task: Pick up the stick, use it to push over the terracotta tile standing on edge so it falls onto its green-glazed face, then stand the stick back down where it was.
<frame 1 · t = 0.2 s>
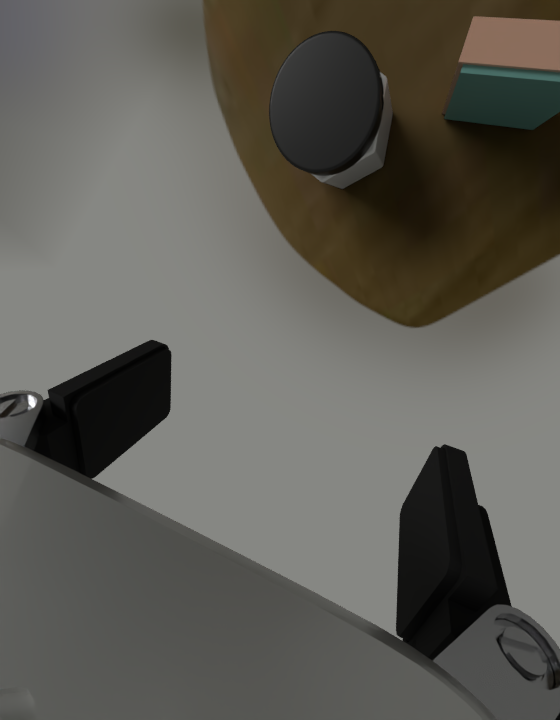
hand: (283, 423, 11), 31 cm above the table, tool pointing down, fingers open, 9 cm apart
tile: (493, 105, 28), on the table
jar: (349, 140, 33), on the table
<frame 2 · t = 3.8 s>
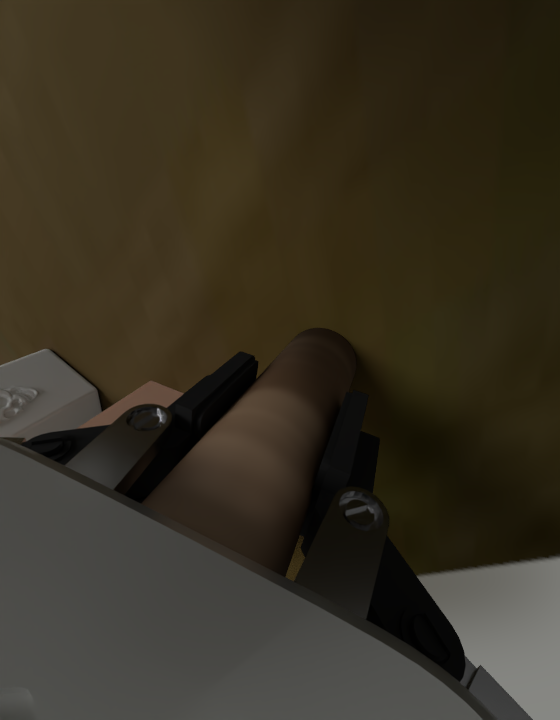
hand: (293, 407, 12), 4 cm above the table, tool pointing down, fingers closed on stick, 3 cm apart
tile: (204, 415, 20), on the table
stick: (320, 361, 15), on the table, touching gripper
jar: (66, 400, 24), on the table
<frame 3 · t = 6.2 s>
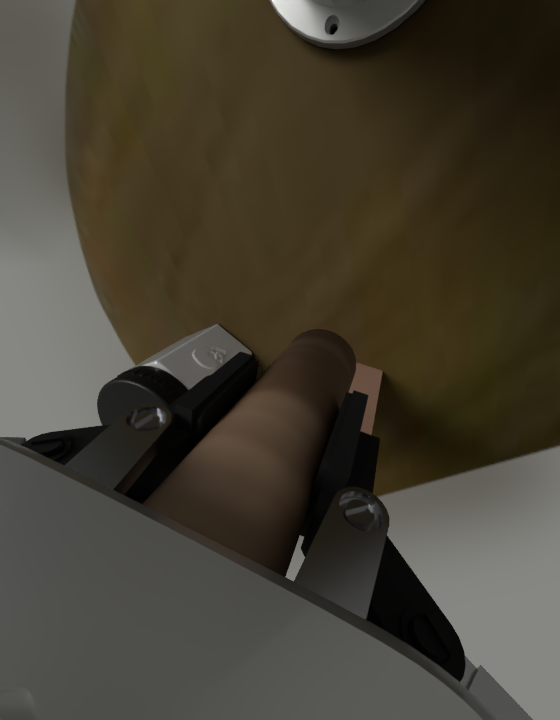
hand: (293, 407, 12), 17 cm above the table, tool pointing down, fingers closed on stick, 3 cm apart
tile: (336, 366, 30), on the table
stick: (320, 362, 15), point 13 cm above the table, touching gripper
jar: (220, 362, 34), on the table
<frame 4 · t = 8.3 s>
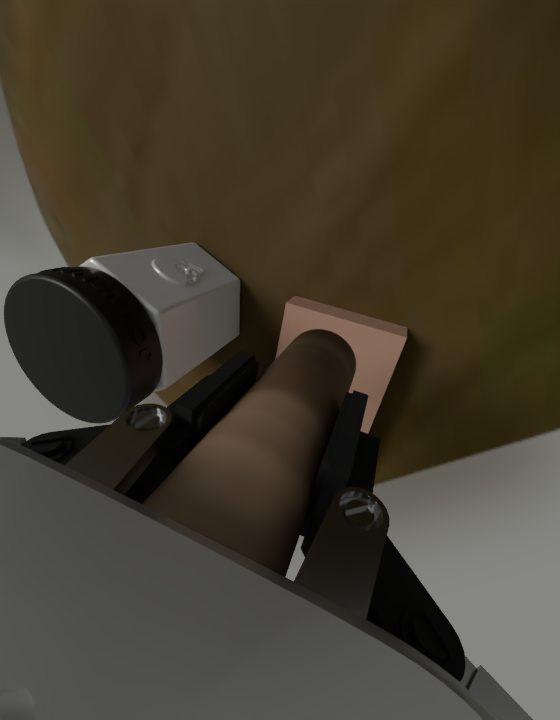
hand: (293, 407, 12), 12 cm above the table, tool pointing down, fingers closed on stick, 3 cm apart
tile: (346, 315, 21), point 1 cm above the table, tilted 90°
stick: (320, 362, 15), point 8 cm above the table, touching gripper
jar: (199, 299, 26), on the table
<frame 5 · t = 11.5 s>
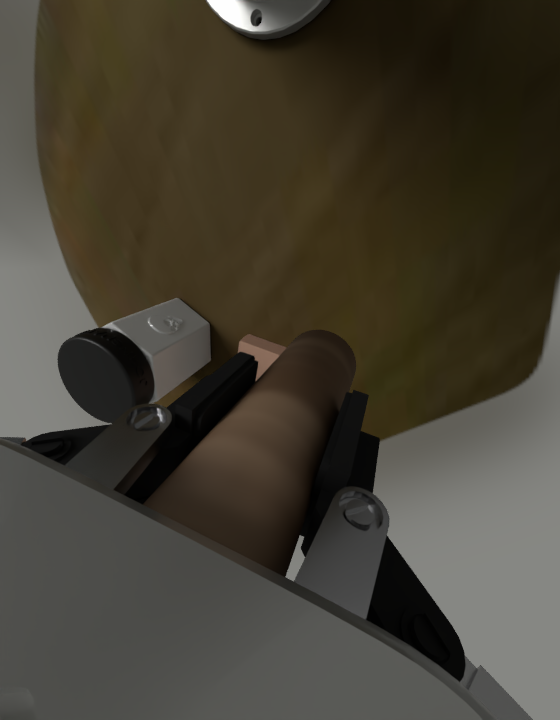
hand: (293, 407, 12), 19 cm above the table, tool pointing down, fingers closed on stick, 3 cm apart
tile: (280, 350, 32), point 1 cm above the table, tilted 90°
stick: (320, 363, 15), point 15 cm above the table, touching gripper
jar: (182, 334, 37), on the table
when the fingers open (5 cm above the table, at t = 14.1 s): stick stays where it is, on the table.
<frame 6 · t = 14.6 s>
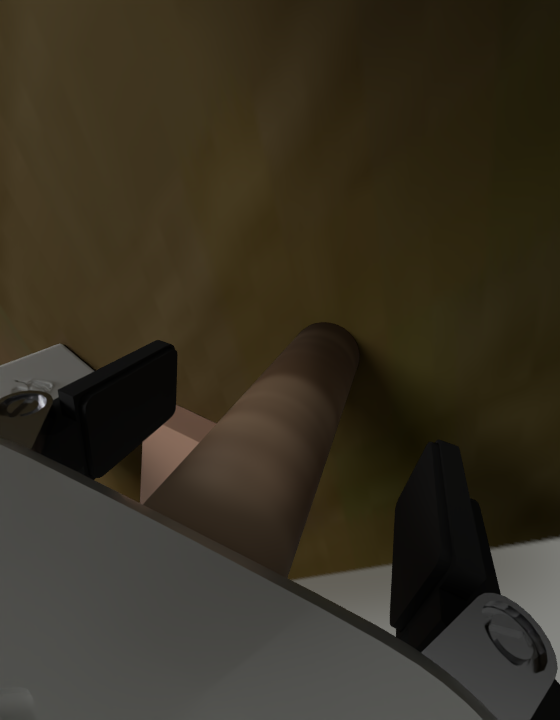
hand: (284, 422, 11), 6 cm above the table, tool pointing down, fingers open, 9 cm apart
tile: (207, 432, 20), point 1 cm above the table, tilted 90°
stick: (325, 354, 16), on the table
jar: (78, 393, 25), on the table
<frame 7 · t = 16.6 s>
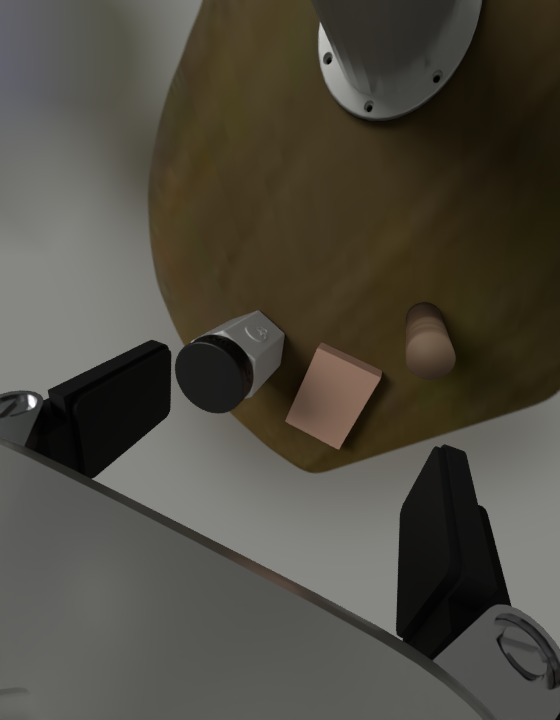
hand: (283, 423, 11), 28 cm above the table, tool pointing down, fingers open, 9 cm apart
tile: (350, 359, 38), point 1 cm above the table, tilted 90°
stick: (423, 318, 34), on the table
jar: (256, 341, 43), on the table
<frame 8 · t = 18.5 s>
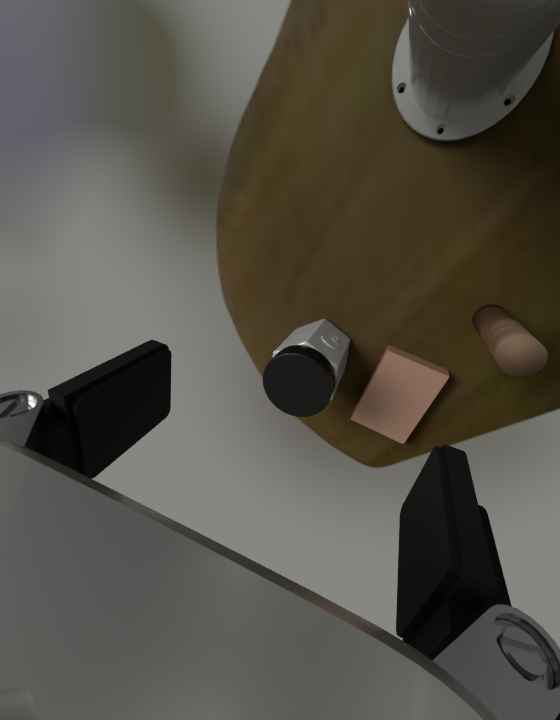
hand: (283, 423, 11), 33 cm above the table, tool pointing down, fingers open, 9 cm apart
tile: (417, 360, 41), point 1 cm above the table, tilted 90°
stick: (489, 318, 37), on the table
jar: (321, 347, 46), on the table
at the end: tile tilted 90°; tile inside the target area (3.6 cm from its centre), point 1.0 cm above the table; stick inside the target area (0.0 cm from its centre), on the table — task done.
